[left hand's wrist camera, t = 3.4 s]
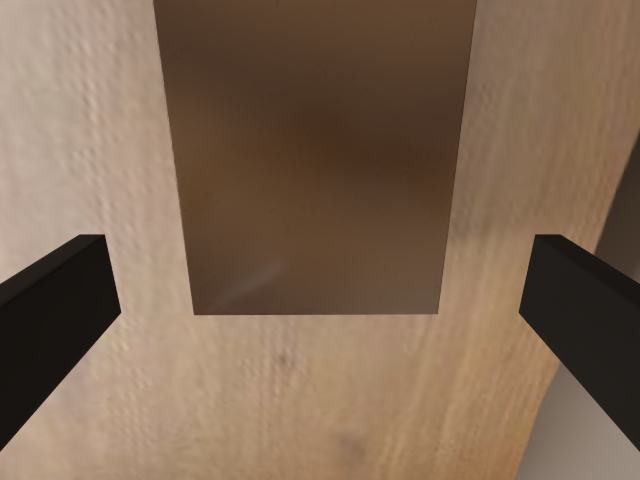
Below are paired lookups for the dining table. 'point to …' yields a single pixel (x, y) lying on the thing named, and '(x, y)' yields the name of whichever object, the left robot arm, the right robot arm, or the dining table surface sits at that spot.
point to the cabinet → (315, 149)
